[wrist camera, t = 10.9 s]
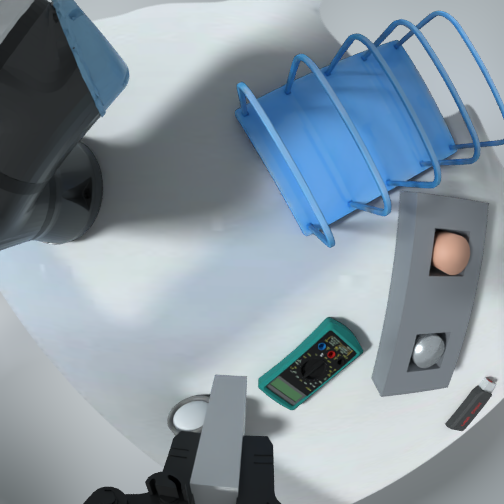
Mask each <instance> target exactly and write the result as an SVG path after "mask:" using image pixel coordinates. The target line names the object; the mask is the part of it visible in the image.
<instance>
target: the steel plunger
mask: <svg viewBox="0 0 504 504" xmlns="http://www.w3.org/2000/svg"><path fill="white" fill-rule="evenodd" d="M443 352H444V342H443V340H442V339H441V338H440V337H439V336H438V335H437V334H436V333H430V334H417V335H416V339H415V343H414V347H413V351H412V355H411V358H412V360H413V361H414V362H415V364H416V365H417V366H418V367H420V368H428V367H430V366H432V365H434V364H435V363H436V362H438V360H439V359H440V358H441V356H442V355H443Z"/></svg>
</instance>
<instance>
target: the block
mask: <svg viewBox="0 0 504 504" xmlns="http://www.w3.org/2000/svg"><path fill="white" fill-rule="evenodd" d="M488 205H489V203H485V202H479V201H473V200H467V199H461V198H454V197H447V196H440V195H433V194H426V193H418V192H407V191H400V204H399V217H398V228H397V239H396V248H395V256H394V264H393V271H392V278H391V285H390V291H389V298H388V303H387V309H386V315H385V320H384V325H383V330H382V335H381V340H380V344H379V349H378V353H377V358H376V362H375V366H374V370H373V374H372V380H373V382H374V384H375V386H376V388H377V390H378V391H379V393H380V395H381V397H384V396H393V395H401V394H409V393H416V392H423V391H429V390H435V389H441V388H447V387H448V385H449V383H450V380H451V377H452V374H453V372H454V369H455V366H456V363H457V360H458V357H459V354H460V351H461V347H462V344H463V341H464V337H465V334H466V330H467V327H468V323H469V319H470V315H471V311H472V307H473V303H474V299H475V294H476V290H477V285H478V280H479V274H480V269H481V263H482V257H483V250H484V243H485V235H486V227H487V217H488ZM439 230H443V231H447V232H450V233H453V234H456V235H460V236H462V237H464V238H465V239H466V240H467V242H468V244H469V247H470V258H469V261H468V264H467V266H466V267H465V268H464V270H463V271H462V272H460V273H459V274H456V275H449V274H447V273H445V272H443V271H441V270H439V269H438V268H436V267H434V266H432V265H431V258H432V250H433V243H434V234H435V232H436V231H439ZM430 333H436V334H437V335H438V336H439V337H440V338H441V339H442V340H443V342H444V352H443V355H442V356H441V358H440V359H439V360H438V362H436V363H435V364H434V365H432V366H430V367H428V368H420V367H418V366H417V365H416V364H415V362H414V361H413V360H412V358H411V355H412V351H413V347H414V343H415V339H416V335H417V334H430Z"/></svg>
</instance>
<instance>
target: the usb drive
mask: <svg viewBox="0 0 504 504" xmlns="http://www.w3.org/2000/svg"><path fill="white" fill-rule="evenodd" d="M495 386H496V384H495V383H494V382H493V381H492V380H490V379H487V378H485V377H484V379H483V380H482V382H481V383H480V384H479V386H476V387H475V388H474V389H473V390H472V391H471V392H470V394H469V395H468V396H467V398H466V399H465V400H464V402H463V403H462V404H461V405H460V407H459V408H458V409H457V410H456V412H455V413H454V414H453V415H452V416H451V418H450V419H449V420H448V421H447V422H446V426H447V427H449V428H450V429H454V430H459V431H463V430H464V429H465V428H466V427H467V426H468V425H469V424H470V423H471V421H472V420H473V419H474V418H475V417H476V415H477V414H478V413H479V412H480V410H481V409H482V408H483V407H484V405H485V404H486V403H487V401H488V400H489V399H490V397H491V396H492V394H491V391H492V390H493V389H494V387H495Z"/></svg>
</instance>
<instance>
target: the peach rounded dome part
mask: <svg viewBox="0 0 504 504" xmlns="http://www.w3.org/2000/svg"><path fill="white" fill-rule="evenodd" d="M469 258H470V247H469V244H468V242H467V240H466V239H465V238H464V237H462V236H460V235H456V234H453V233H450V232H447V231H443V230H439V231H436V232H435V234H434V243H433V250H432V258H431V265H432V266H434V267H436V268H438V269H439V270H441V271H443V272H445V273H447V274H449V275H456V274H459V273H460V272H462V271H463V270H464V268H465V267H466V266H467V264H468V261H469Z"/></svg>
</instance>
